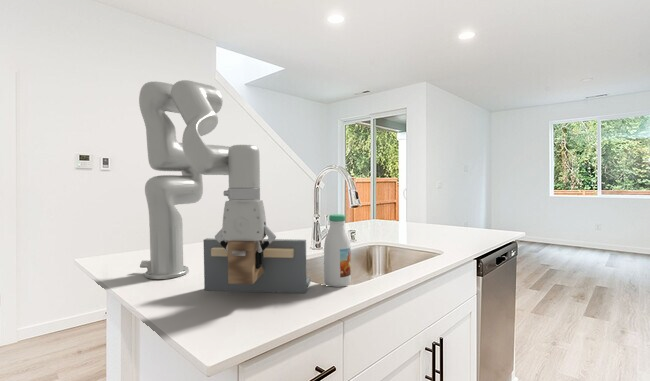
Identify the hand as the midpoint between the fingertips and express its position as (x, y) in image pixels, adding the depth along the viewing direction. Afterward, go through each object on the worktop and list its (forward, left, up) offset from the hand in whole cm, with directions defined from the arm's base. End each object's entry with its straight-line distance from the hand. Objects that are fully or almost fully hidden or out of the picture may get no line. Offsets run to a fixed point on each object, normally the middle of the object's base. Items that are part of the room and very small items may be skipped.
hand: (245, 266), depth 84 cm
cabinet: (0, 0, -3) cm, 3 cm away
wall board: (0, +10, -9) cm, 14 cm away
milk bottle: (+22, +16, -9) cm, 28 cm away
